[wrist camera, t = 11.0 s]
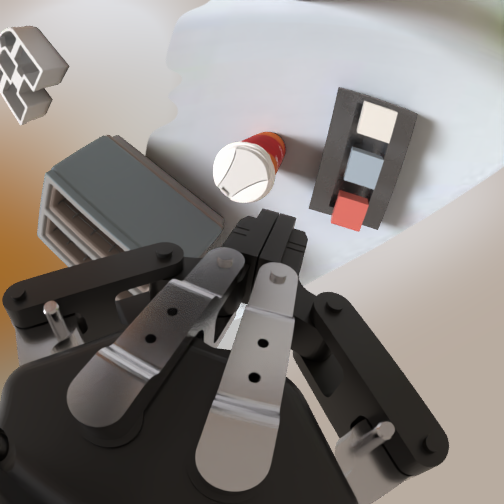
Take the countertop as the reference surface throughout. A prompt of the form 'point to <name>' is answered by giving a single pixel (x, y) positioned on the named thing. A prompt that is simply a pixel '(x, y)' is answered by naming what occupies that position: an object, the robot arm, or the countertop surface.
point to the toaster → (119, 207)
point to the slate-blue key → (363, 168)
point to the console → (346, 136)
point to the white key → (376, 121)
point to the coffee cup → (249, 167)
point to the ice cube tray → (28, 71)
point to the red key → (349, 210)
